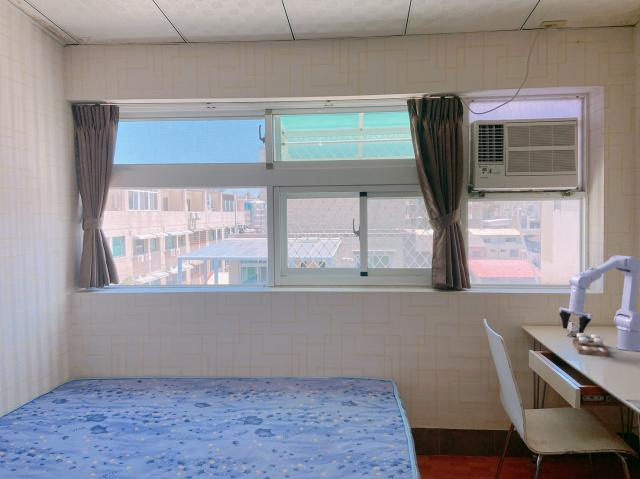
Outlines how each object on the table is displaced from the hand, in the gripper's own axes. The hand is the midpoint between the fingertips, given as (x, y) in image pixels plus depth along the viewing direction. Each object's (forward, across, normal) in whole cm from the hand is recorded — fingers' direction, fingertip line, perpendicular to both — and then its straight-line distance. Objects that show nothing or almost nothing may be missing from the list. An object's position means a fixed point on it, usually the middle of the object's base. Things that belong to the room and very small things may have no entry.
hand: (572, 330), depth 201 cm
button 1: (+5, -1, +10) cm, 12 cm away
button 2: (+4, -1, +19) cm, 20 cm away
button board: (+8, +1, +13) cm, 16 cm away
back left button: (+5, -5, +16) cm, 17 cm away
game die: (+8, -16, +27) cm, 32 cm away
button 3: (+5, +4, +14) cm, 15 cm away
